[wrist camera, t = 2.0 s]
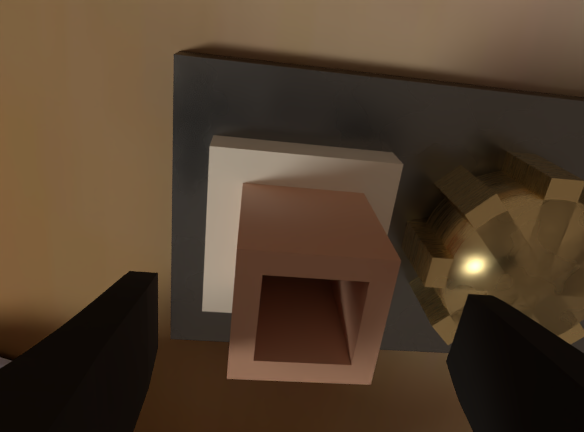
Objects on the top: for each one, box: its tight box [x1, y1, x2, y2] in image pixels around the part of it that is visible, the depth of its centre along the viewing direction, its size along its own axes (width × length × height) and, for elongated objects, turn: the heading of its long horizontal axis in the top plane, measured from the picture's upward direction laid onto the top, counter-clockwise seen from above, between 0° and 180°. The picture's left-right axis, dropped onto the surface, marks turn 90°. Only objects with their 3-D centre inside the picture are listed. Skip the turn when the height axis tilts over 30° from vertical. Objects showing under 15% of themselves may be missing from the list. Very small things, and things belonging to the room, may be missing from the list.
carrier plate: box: [171, 51, 584, 353], centre depth 15 cm, size 22×10×4 cm, turn 83°
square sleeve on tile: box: [202, 135, 403, 385], centre depth 13 cm, size 6×6×5 cm
